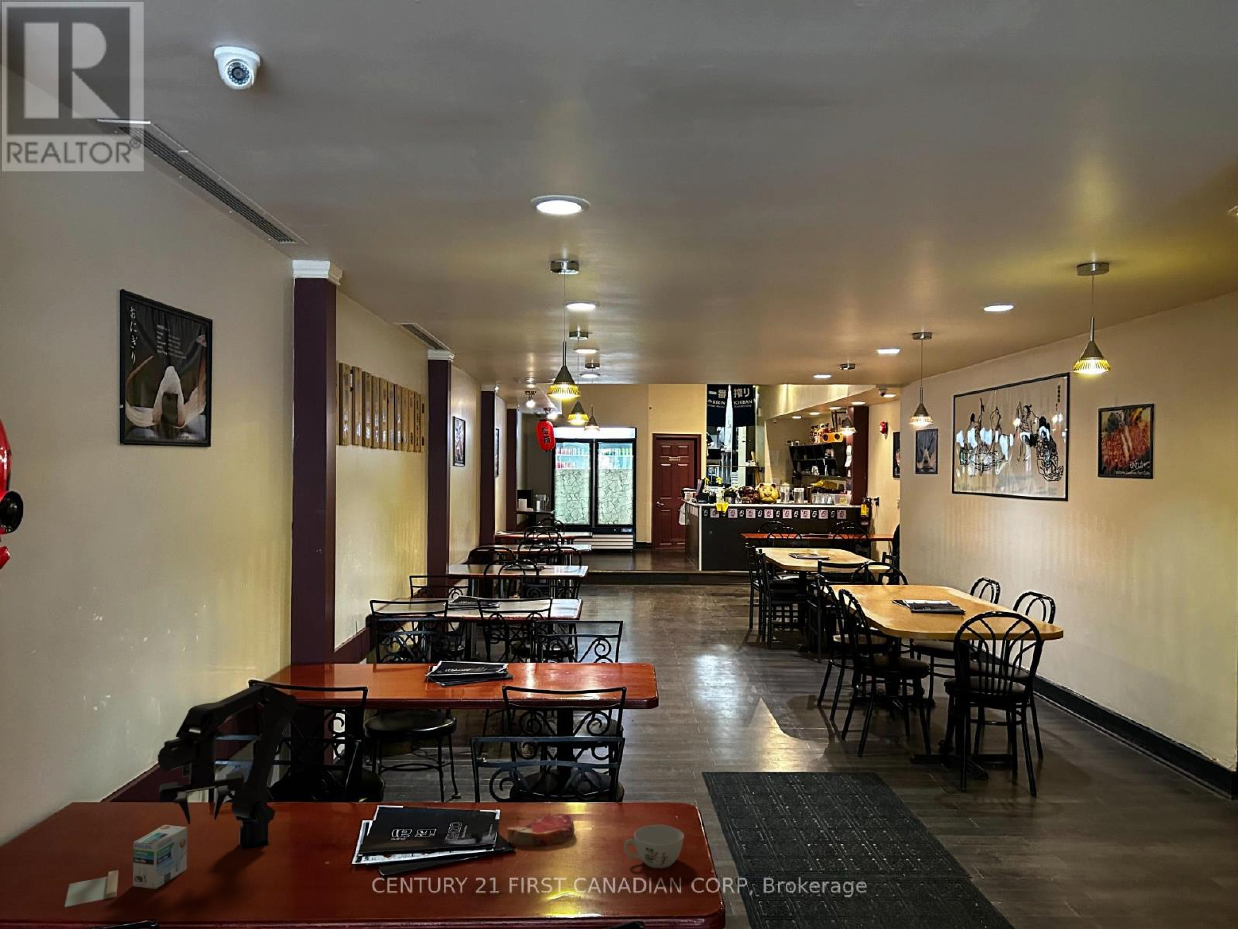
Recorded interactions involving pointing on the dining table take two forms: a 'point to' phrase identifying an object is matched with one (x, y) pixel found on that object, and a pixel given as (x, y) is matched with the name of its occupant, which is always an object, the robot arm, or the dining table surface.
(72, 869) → the dining table surface
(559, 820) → the steak
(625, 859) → the dining table surface
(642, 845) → the teacup
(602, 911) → the dining table surface
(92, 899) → the gray and beige tray
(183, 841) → the light bulb box
